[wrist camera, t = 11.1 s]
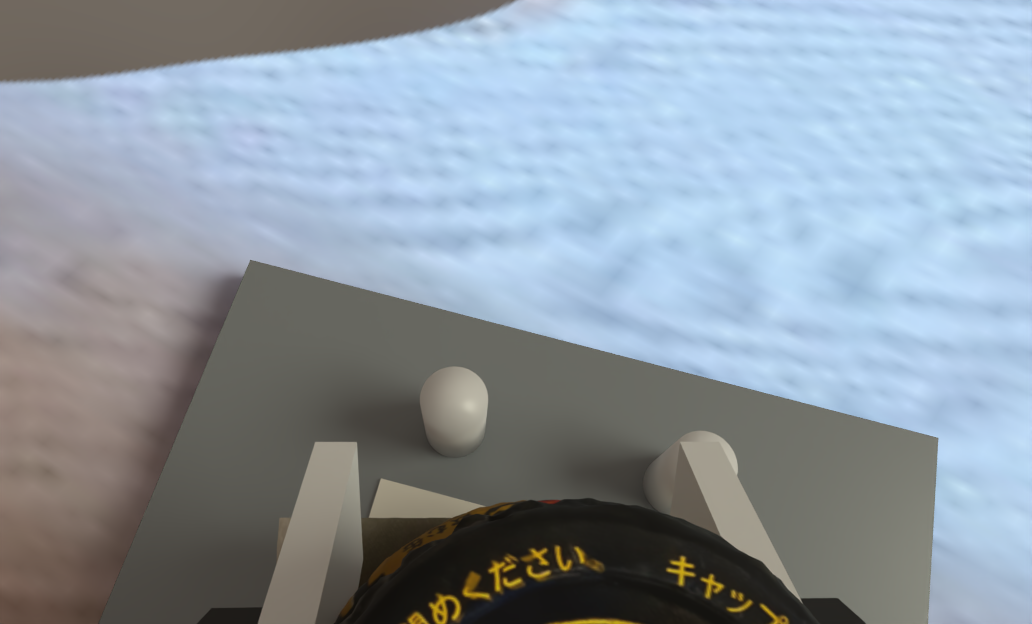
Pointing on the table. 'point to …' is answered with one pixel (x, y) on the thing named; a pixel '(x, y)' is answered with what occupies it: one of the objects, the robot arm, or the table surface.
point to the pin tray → (499, 448)
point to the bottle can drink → (560, 570)
